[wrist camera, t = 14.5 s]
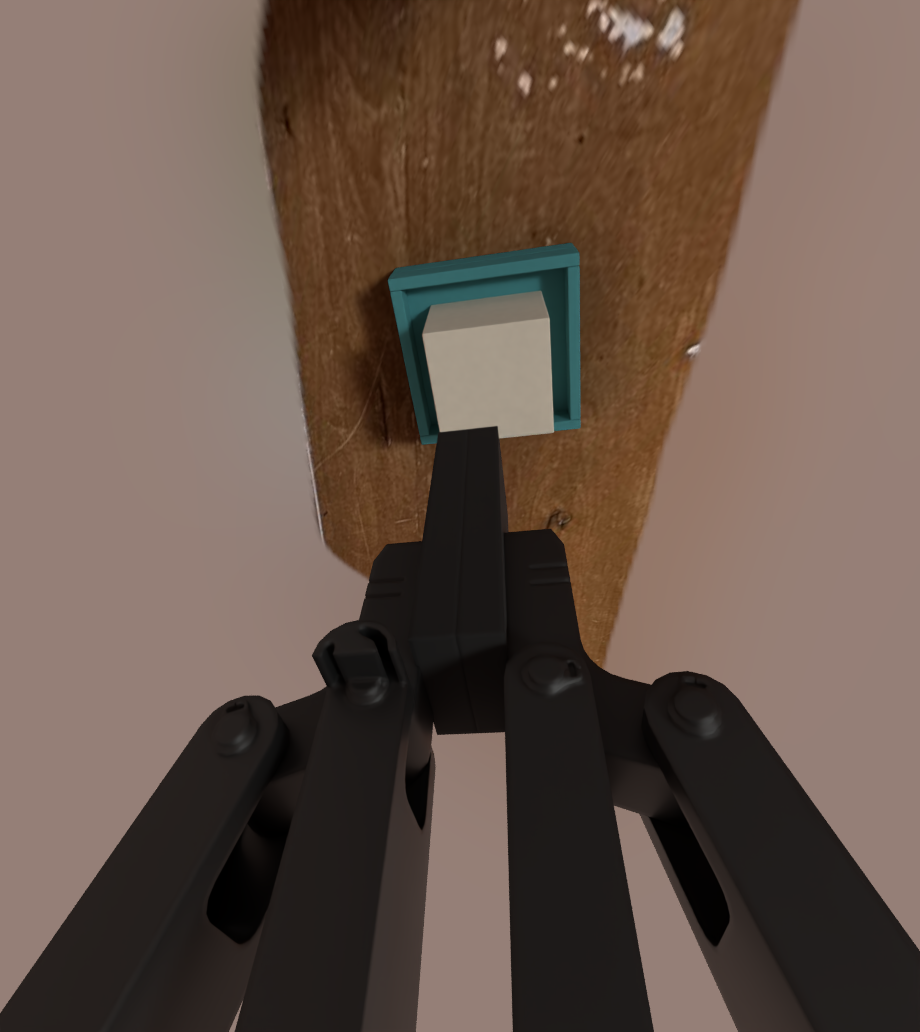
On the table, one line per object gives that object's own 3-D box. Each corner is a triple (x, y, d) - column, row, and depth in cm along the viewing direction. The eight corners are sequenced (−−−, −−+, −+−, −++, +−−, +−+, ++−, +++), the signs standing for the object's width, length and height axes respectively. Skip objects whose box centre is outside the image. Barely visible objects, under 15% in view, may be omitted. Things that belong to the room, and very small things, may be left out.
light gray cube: (430, 305, 24) (421, 333, 21) (541, 290, 24) (549, 317, 20) (447, 405, 27) (441, 444, 24) (546, 394, 27) (554, 433, 23)
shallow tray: (394, 267, 24) (387, 279, 23) (572, 242, 23) (579, 252, 22) (425, 425, 29) (421, 445, 27) (574, 409, 28) (580, 428, 26)
